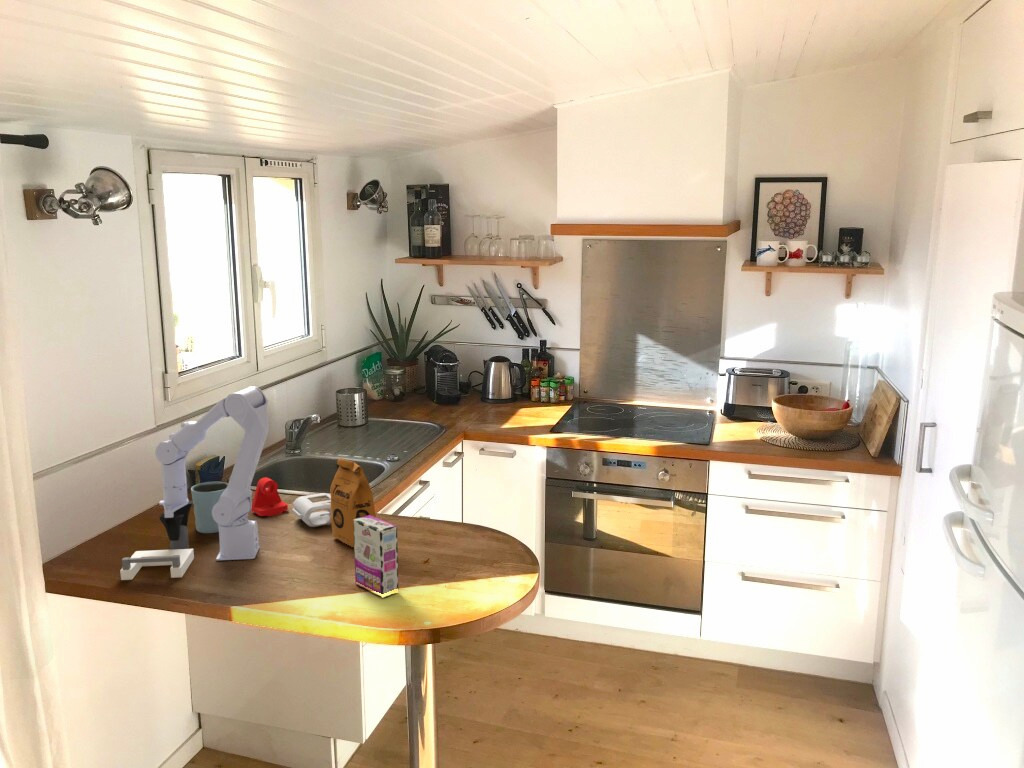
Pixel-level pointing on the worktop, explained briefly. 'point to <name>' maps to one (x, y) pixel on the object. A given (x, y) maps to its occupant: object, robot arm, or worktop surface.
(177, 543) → the grey rounded cylinder
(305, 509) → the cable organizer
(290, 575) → the worktop surface
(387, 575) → the candy bar box
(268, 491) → the bracket
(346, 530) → the coffee package
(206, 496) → the pale teal cup
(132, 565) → the white frame with crossbar
